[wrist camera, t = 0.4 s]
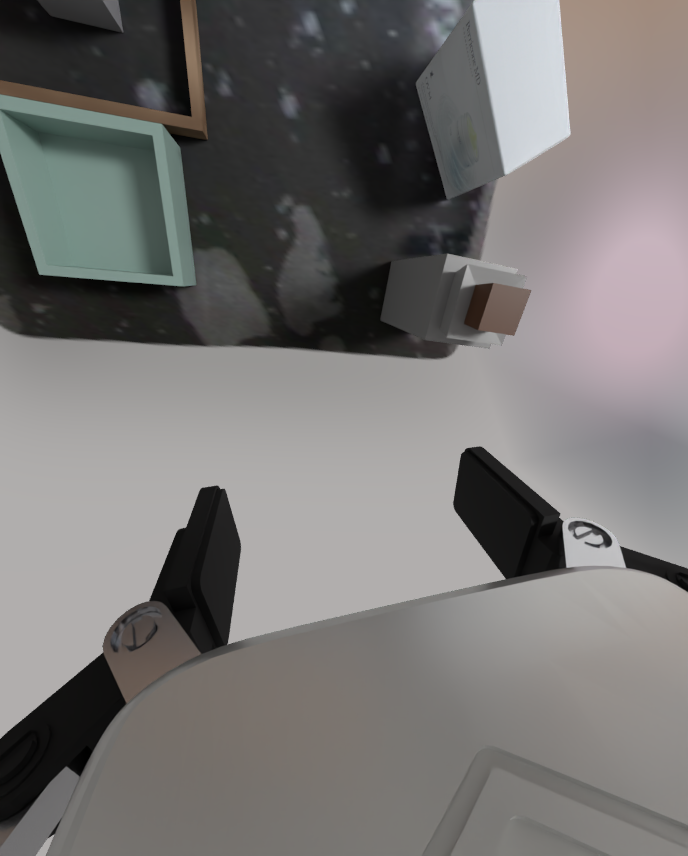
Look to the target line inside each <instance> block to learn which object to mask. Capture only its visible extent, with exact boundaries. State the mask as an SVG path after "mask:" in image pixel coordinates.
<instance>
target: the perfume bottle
mask: <svg viewBox="0 0 688 856" xmlns="http://www.w3.org/2000/svg"><path fill="white" fill-rule="evenodd" d="M517 270H518V269H516V268H511V267H507V266H501V265H497V264H493V263H488V262H483V261H479V260H474V259H470V258H465V257H460V256H456V255H451V254H442V255H434V256H426V257H419V258H411V259H403V260H396V261H392V262H391V267H390V272H389V277H388V283H387V288H386V293H385V298H384V303H383V308H382V313H381V319H380V320H381V321H383V322H385V323H388V324H390V325H392V326H394V327H397V328H399V329H401V330H404V331H406V332H408V333H410V334H413V335H415V336H417V337H420V338H422V339H424V340H429V341H437V342H444V343H451V344H459V345H467V346H474V347H481V348H488V349H489V348H490V346H491V344H495V345H502V343H503V341H504V338H505V335H513V336H514V335H515V332H516V329H517V327H518V324H519V321H520V319H521V316H522V314H523V311H524V308H525V306H526V303H527V300H528V298H529V295H530V293H531V290H528V289H523V287H524V284H525V281H526V279H527V276H523V275H518V274H516V273H517Z"/></svg>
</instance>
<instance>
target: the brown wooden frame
mask: <svg viewBox="0 0 688 856" xmlns="http://www.w3.org/2000/svg"><path fill="white" fill-rule="evenodd" d="M180 4H181V14H182V24H183V34H184V43H185V53H186V63H187V73H188V83H189V93H190V103H191V112H192V117H189V116H184V115H179V114H174V113H168V112H163V111H158V110H153V109H148V108H142V107H137V106H132V105H127V104H121V103H116V102H111V101H106V100H101V99H95V98H90V97H85V96H80V95H74V94H69V93H64V92H59V91H53V90H48V89H43V88H38V87H33V86H27V85H22V84H17V83H12V82H6V81H1V80H0V94H1V95H6V96H12V97H17V98H23V99H28V100H34V101H39V102H45V103H50V104H55V105H61V106H66V107H72V108H77V109H83V110H88V111H94V112H99V113H105V114H110V115H115V116H121V117H126V118H132V119H137V120H143V121H148V122H154V123H159V124H162V125H163V126H164V127H165V129H166V130H167V131H168V133H170V134H176V135H182V136H187V137H193V138H198V139H204V140H208V137H207V125H206V114H205V102H204V90H203V79H202V67H201V56H200V44H199V33H198V21H197V9H196V0H180Z"/></svg>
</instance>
